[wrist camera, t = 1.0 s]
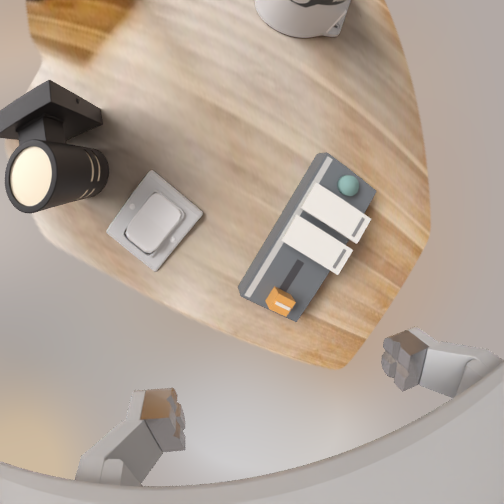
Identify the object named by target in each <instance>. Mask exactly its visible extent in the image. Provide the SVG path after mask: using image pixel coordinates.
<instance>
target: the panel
mask: <svg viewBox="0 0 504 504" xmlns="http://www.w3.org/2000/svg"><path fill="white" fill-rule="evenodd" d="M344 175H351V176H354V177H355V178H356V179H357V180H358V182H359V189H358V192H357V193H356V194H355V195H353V196H347V195H343V194H341V193H340V192H339V190H338V188H337V183H338V180H339V178H340V177H342V176H344ZM314 183H318V184H320V185H321V186H323V187H324V188H326V189H327V190H329V191H331V192H332V193H334V194H335V195H337V196H338V197H340V198H341V199H343V200H344V201H346V202H347V203H349V204H350V205H352V206H353V207H355V208H356V209H358V210H359V211H361V212H362V213H363V214H364V213H365V211H366V209H367V208H368V206H369V204H370V202H371V200H372V199H373V197H374V195H375V193H376V190H375V189H373V188H372V187H371V186H370V185H369V184H367V183H366V182H365V181H364V180H362V179H361V178H360V177H359V176H357V175H356V174H355V173H353V172H352V171H351V170H350V169H348V168H347V167H346V166H344V165H343V164H342V163H340V162H339V161H338V160H336V159H335V158H334V157H332V156H331V155H330V154H328V153H319V154H317V155H316V157H315V158H314V160H313V162H312V163H311V165H310V167H309V168H308V170H307V172H306V174H305V175H304V177H303V179H302V180H301V182H300V184H299V185H298V187H297V189H296V190H295V192H294V194H293V195H292V197H291V199H290V200H289V202H288V204H287V205H286V207H285V209H284V211H283V212H282V214H281V216H280V217H279V219H278V221H277V222H276V224H275V226H274V227H273V229H272V231H271V232H270V234H269V236H268V237H267V239H266V241H265V242H264V244H263V246H262V247H261V249H260V251H259V252H258V254H257V256H256V257H255V259H254V261H253V262H252V264H251V266H250V267H249V269H248V271H247V272H246V274H245V276H244V277H243V279H242V281H241V282H240V284H239V286H238V289H239V292H240V295H241V297H243V298H245V299H247V300H250V301H252V302H254V303H256V304H258V305H260V306H262V307H264V308H267V309H269V308H268V306H267V303H266V301H265V300H266V299H267V297H268V296H269V294H270V292H271V291H272V289H273V288H274V286H275V287H277V288H279V289H281V290H283V291H285V292H287V293H289V294H291V296H292V297H293V299H294V300H295V302H296V303H295V305H294V306H293V308H292V309H291V311H290V312H289V314H288V315H287V317H286V318H288V319H291V320H293V321H295V322H297V320H298V319H299V318H300V316H301V315H302V313H303V312H304V310H305V309H306V307H307V306H308V304H309V303H310V301H311V300H312V298H313V297H314V295H315V294H316V292H317V290H318V289H319V287H320V286H321V284H322V283H323V281H324V280H325V278H326V276H327V275H328V273H329V272H330V270H329V269H327V268H325V267H324V266H322V265H321V264H319V263H317V262H316V261H314V260H312V259H311V258H309V257H307V256H306V255H304V254H302V253H301V252H299V251H298V250H296V249H294V248H293V247H291V246H289V245H288V244H286V243H284V242H283V241H281V239H282V237H283V235H284V234H285V232H286V230H287V229H288V227H289V225H290V224H291V222H292V220H293V219H294V217H295V215H299V216H300V217H302V218H303V219H305V220H307V221H308V222H310V223H311V224H313V225H315V226H316V227H318V228H319V229H321V230H323V231H324V232H326V233H327V234H329V235H331V236H332V237H334V238H335V239H337V240H338V241H340V242H341V243H343V244H344V245H346V244H347V242H348V241H349V239H348V238H346V237H344V236H343V235H341V234H340V233H338V232H337V231H335V230H334V229H332V228H331V227H329V226H327V225H326V224H324V223H323V222H321V221H320V220H318V219H316V218H315V217H313V216H312V215H310V214H308V213H307V212H305V211H304V210H302V209H300V207H301V205H302V204H303V202H304V200H305V199H306V197H307V195H308V194H309V192H310V190H311V188H312V187H313V185H314ZM269 310H270V309H269ZM271 311H272V310H271ZM273 312H274V311H273ZM275 313H277V312H275ZM277 314H279V313H277ZM280 315H281V314H280ZM282 316H283V315H282ZM284 317H285V316H284Z"/></svg>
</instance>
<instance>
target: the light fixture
mask: <svg viewBox="0 0 504 504" xmlns="http://www.w3.org/2000/svg"><path fill="white" fill-rule="evenodd" d="M102 124H103V122H102V117H101V111H100V108H98V107H96V106H95V105H93V104H91V103H90V102H88V101H86V100H84V99H83V98H81V97H79V96H77V95H76V94H74V93H72V92H70V91H69V90H67V89H65V88H63V87H62V86H60V85H58V84H56V83H54V82H53V81H51V80H48V81H46V82H44V83H43V84H41V85H39V86H37V87H36V88H34V89H32V90H31V91H29V92H27V93H26V94H24V95H23V96H21V97H20V98H18V99H16V100H15V101H14V102H12V103H11V104H9V105H8V106H6V107H5V108H4V109H2V110H1V111H0V138H7V139H17V140H19V146H18V147H17V148H16V150H15V151H14V152H13V154H12V155H11V157H10V159H9V161H8V164H7V168H6V172H5V187H6V192H7V195H8V197H9V200H10V201H11V203H12V204H13V206H14V207H16V208H17V209H18V210H19V211H21V212H24V213H35V212H38V211H41V210H45V209H48V208H51V207H55V206H59V205H62V204H66V203H69V202H73V201H77V200H81V199H85V198H89V197H92V196H95V195H96V194H98V193H99V192H100V191H101V190H102V189H103V188H104V186H105V185H106V182H107V180H108V176H109V166H108V162H107V160H106V158H105V156H104V155H103V154H102V153H101V152H99V151H98V150H95V149H91V148H86V147H80V146H75V145H69V144H66V140H68V139H70V138H72V137H74V136H76V135H79V134H81V133H83V132H85V131H88V130H90V129H92V128H95V127H97V126H100V125H102Z"/></svg>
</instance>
